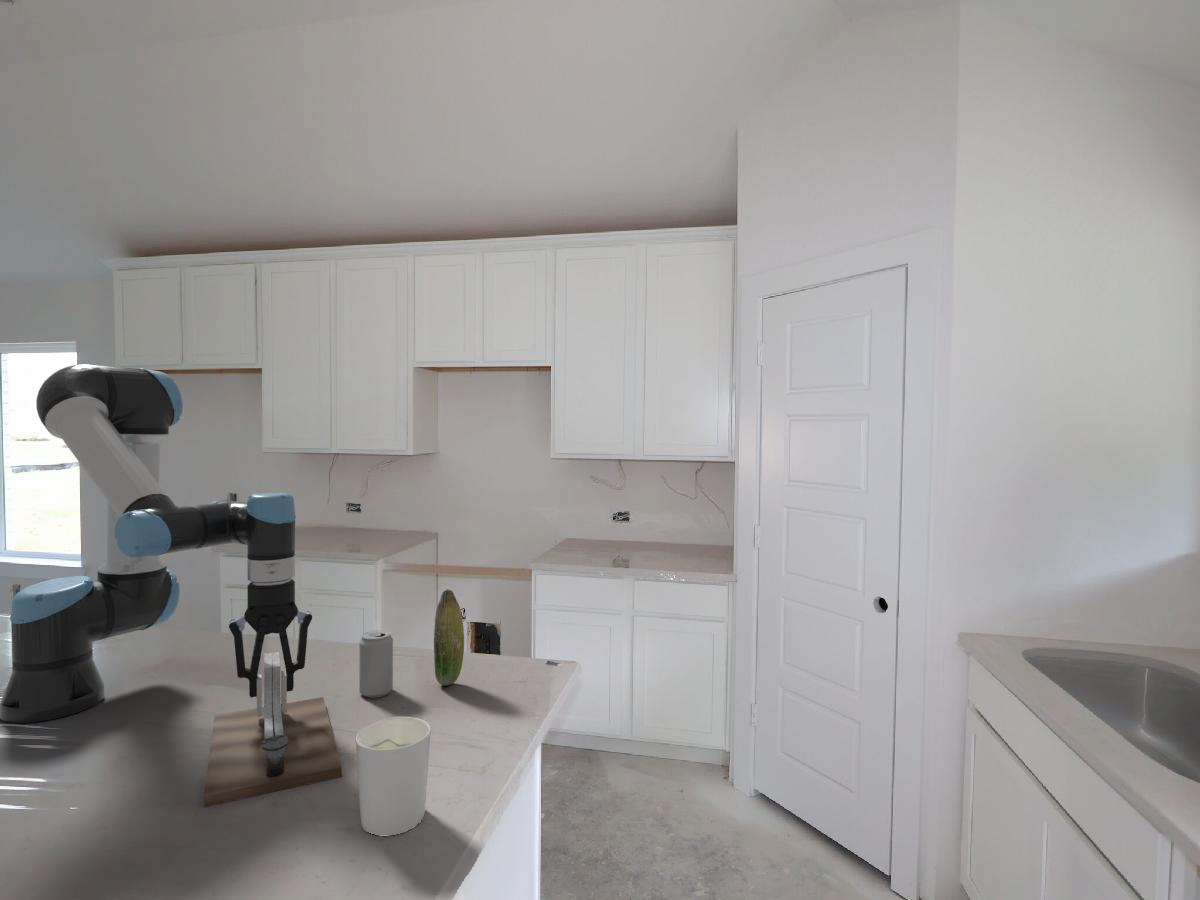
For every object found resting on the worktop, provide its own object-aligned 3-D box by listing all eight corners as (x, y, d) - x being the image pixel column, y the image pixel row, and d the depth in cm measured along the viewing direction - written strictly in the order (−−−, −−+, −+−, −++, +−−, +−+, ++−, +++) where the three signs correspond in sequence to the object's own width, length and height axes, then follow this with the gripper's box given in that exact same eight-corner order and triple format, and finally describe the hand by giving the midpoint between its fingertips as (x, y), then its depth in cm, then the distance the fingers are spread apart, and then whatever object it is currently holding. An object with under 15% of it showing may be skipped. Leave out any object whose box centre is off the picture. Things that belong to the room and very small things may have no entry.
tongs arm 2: (284, 762, 100) (284, 697, 100) (275, 764, 99) (275, 699, 99) (278, 705, 120) (278, 651, 120) (271, 706, 120) (271, 652, 119)
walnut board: (214, 723, 117) (214, 715, 117) (323, 704, 125) (323, 697, 125) (204, 807, 91) (203, 796, 91) (341, 776, 100) (341, 766, 100)
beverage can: (382, 700, 127) (382, 640, 127) (352, 697, 129) (352, 637, 128) (398, 688, 134) (398, 630, 133) (370, 685, 135) (370, 628, 135)
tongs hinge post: (289, 775, 97) (289, 742, 97) (261, 781, 95) (261, 748, 95) (287, 764, 100) (287, 732, 100) (261, 770, 98) (261, 737, 98)
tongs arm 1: (273, 764, 99) (273, 699, 99) (265, 766, 99) (265, 701, 98) (271, 706, 120) (271, 652, 119) (264, 707, 119) (264, 653, 119)
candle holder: (366, 799, 94) (366, 717, 93) (435, 797, 94) (436, 715, 94) (345, 842, 84) (345, 750, 84) (423, 839, 85) (423, 748, 84)
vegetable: (467, 681, 138) (468, 587, 137) (458, 692, 132) (459, 594, 131) (439, 679, 139) (440, 586, 138) (429, 691, 132) (430, 593, 132)
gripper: (217, 590, 108) (217, 729, 109) (323, 580, 116) (323, 710, 117) (219, 580, 115) (219, 712, 115) (319, 572, 122) (319, 695, 123)
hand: (271, 711), depth 116 cm, fingers open, 3 cm apart
